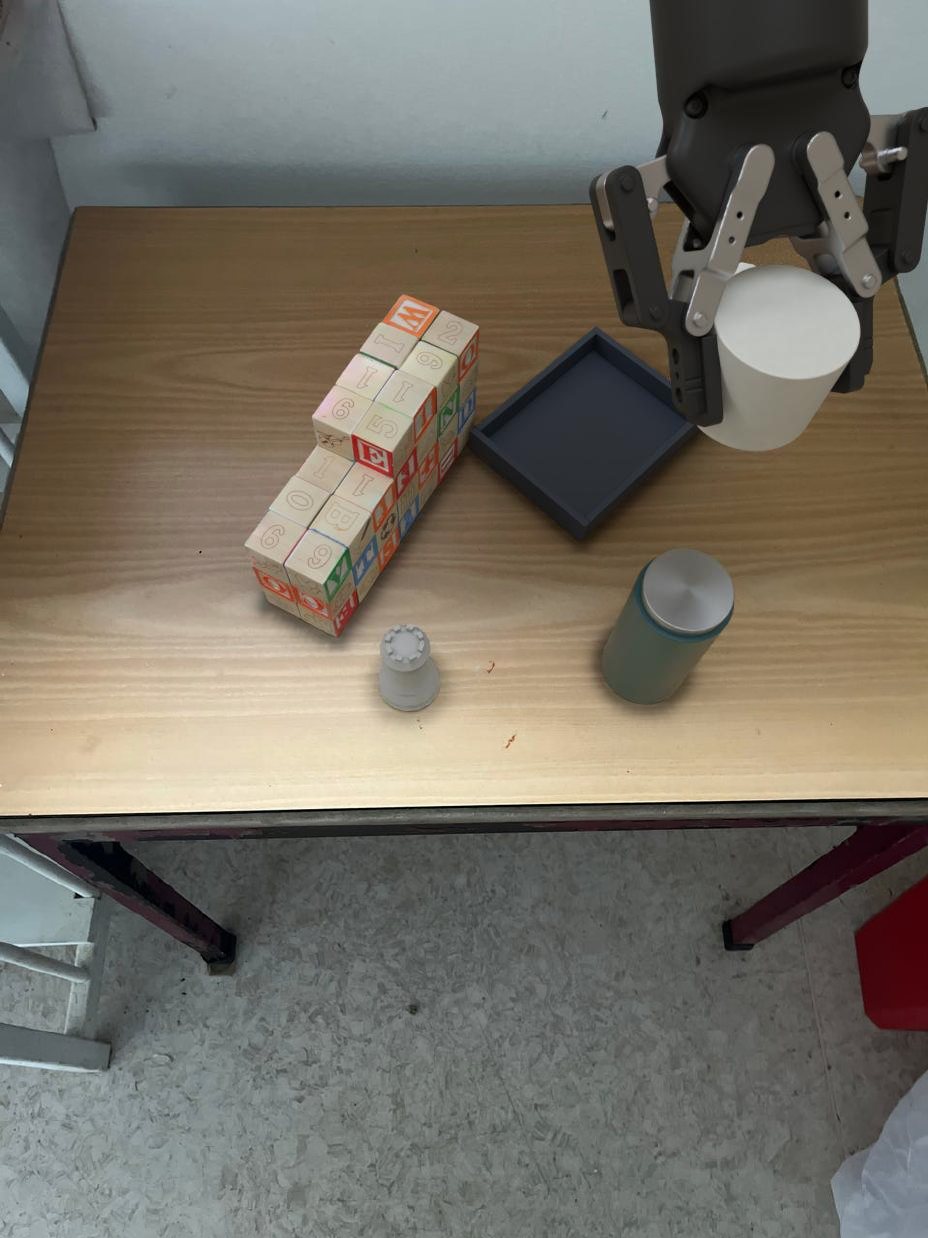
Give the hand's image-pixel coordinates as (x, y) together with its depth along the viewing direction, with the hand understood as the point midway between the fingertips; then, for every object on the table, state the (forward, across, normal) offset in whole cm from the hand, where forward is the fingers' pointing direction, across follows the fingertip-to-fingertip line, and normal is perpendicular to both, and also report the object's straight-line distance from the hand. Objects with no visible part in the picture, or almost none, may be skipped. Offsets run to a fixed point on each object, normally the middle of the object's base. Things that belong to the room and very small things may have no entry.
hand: (774, 405), depth 37 cm
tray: (+7, +2, +33) cm, 33 cm away
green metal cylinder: (+21, 0, +19) cm, 28 cm away
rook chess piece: (+19, -17, +21) cm, 33 cm away
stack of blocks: (+9, -16, +31) cm, 36 cm away
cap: (0, 0, +2) cm, 2 cm away
